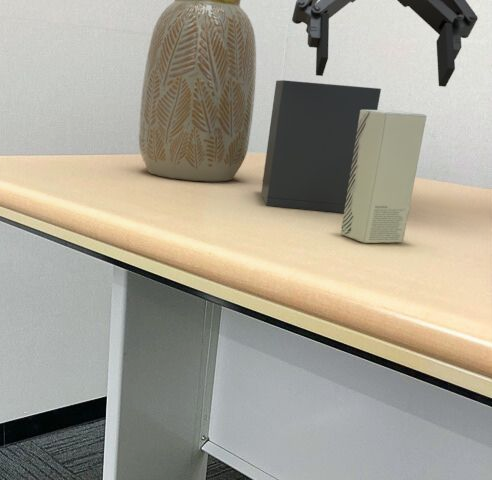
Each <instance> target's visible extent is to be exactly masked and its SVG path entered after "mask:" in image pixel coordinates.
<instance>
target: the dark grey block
mask: <svg viewBox="0 0 492 480" xmlns="http://www.w3.org/2000/svg"><path fill="white" fill-rule="evenodd" d="M274 86H275V87H274V94H273V103H272V109H271V118H270V123H269V132H268V141H267V147H266V152H265V153H266V155H265V162H264V169H263V170H264V171H263V177H262V184H261V193H260V194H261V196H262V198H263V200H264V203H265V205H266V206H267V207H278V208H286V209H287V208H288V209H298V210H307V211H308V210H309V211H317V212H318V211H319V212H327V213H328V212H329V213H338V214H339V213H341V214H344V209H345V203H346V197H347V190H348V185H349V178H350V172H351V166H352V159H353V153H354V147H355V141H356V134H357V128H358V121H359V115H360V110H379V103H380V99H381V98H380V97H381V93H382V88H377V87H367V86H355V85H342V84H333V83H331V84H330V83H322V82H321V83H317V82H307V81H297V80H285V79H284V80H282V79H281V80H276V81H275V85H274Z"/></svg>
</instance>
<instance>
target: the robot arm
mask: <svg viewBox="0 0 492 480" xmlns="http://www.w3.org/2000/svg"><path fill="white" fill-rule="evenodd" d="M355 1H356V0H296V2H295V5H294V9H293V13H292V17H291V21H292V23H294V24H296V25H299V24H301V23H303V24H305V25H306V29H305V32H306V33H307V46H308V47H309V48H315V49H316V51H315V52H316V55H315V57H316V58H315V76H317V77H319V76H320V77H323V76H324V73H325V69H326V66H327V63H328V59H329V40H330V39H329V38H330V37H329V36H330V35H329V32H330V19H331V18H332V17H333V16H334V15H336V14H337V13H338V12H339V11H341V10H342V9H344V8H345V7H346V6H347V5H348V4H350V3H352V4H353V3H354V2H355ZM396 1H397V2H398V3H399V4H400V5H402V6H403V7H404V8H407V7H409V8H410V9H411V10H412V11H413V12H414V13H415V14H416V15H417V16H418V17H419V18H420V19H422V20H423V21H424V22H425V23H426V24H427V25H428V26H429V27H430V28H431V29H433V31H435V32H436V33H437V34H438V35H439V36H438V38H437V39H436V42H435V43H436V58H437V59H436V60H437V61H436V62H437V77H438V78H437V79H438V81H437V82H438V87H444V88H445V87H446V88H447V85H448V83H449V81H450V80H451V78H452V77H453V74H454V72H455V70H456V64H455V60H456V59H457V57H458V55H459V54H460V51H461V50H462V39H467V38H469V37H470V34H471V32H472V30H473V29H474V27H475V25H476V24H477V21H478V20H479V19H478V15H477V14H476V12H475V11H474V10H473V8H472V7H471V6H470V5H469V3H468V1H467V0H396Z"/></svg>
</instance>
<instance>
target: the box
mask: <svg viewBox="0 0 492 480" xmlns="http://www.w3.org/2000/svg"><path fill="white" fill-rule="evenodd" d="M427 117H428V116H427V115H426V114H425V113H419V112H410V111H409V112H408V111H401V110H381V109H377V110H360V115H359V121H358V128H357V134H356V141H355V147H354V153H353V159H352V166H351V172H350V178H349V185H348V190H347V197H346V203H345V209H344V213H343V215H342V216H343V217H342V223H341V229H340V234H341V235H343V236H345V237H347V238H349V239H352V240H355V241H357V242H359V243H363V244H366V243H369V244H377V243H388V244H389V243H390V244H392V243H402V242H404V238H405V234H406V230H407V229H406V228H407V225H408V217H409V213H410V207H411V202H412V197H413V190H414V185H415V180H416V175H417V170H418V165H419V158H420V154H421V148H422V143H423V137H424V132H425V126H426V121H427Z"/></svg>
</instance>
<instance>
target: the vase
mask: <svg viewBox="0 0 492 480" xmlns="http://www.w3.org/2000/svg"><path fill="white" fill-rule="evenodd" d="M241 2H242V0H174V1H173V2H172V3H170V4H169V5H168V6H167V7H165V9H164V10H163V11H162V12H161V14H160V15H159V17H158V19H157V21H156V23H155V25H154V27H153V31H152V32H151V33H152V34H151V37H150V41H149V47H148V51H147V55H146V61H145V67H144V75H143V80H142V81H143V83H142V89H141V98H140V107H139V108H140V110H139V125H138V129H139V130H138V146H139V151H140V155H141V158H142V161H143V164H144V166H145V168H146V170H147V172H148V173H149V174H152V175H154V176H158V177H161V178H168V179H172V180H173V179H174V180H175V179H176V180H181V181H190V182H191V181H192V182H210V183H211V182H212V183H213V182H216V183H218V182H228V181H232V180H233V179H234V178H235V176H236V175H237V173H238V171H239V170H240V168H241V166H242V164H243V163H244V161H245V159H246V156H247V153H248V151H249V150H248V149H249V145H250V138H251V131H252V124H253V118H254V109H255V98H256V97H255V96H256V83H257V45H256V44H257V41H256V35H255V29H254V26H253V24H252V22H251V19H250V17H249V16H248V14H247V13H246V12H245V11H244V9H243V8H242V7H241Z"/></svg>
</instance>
